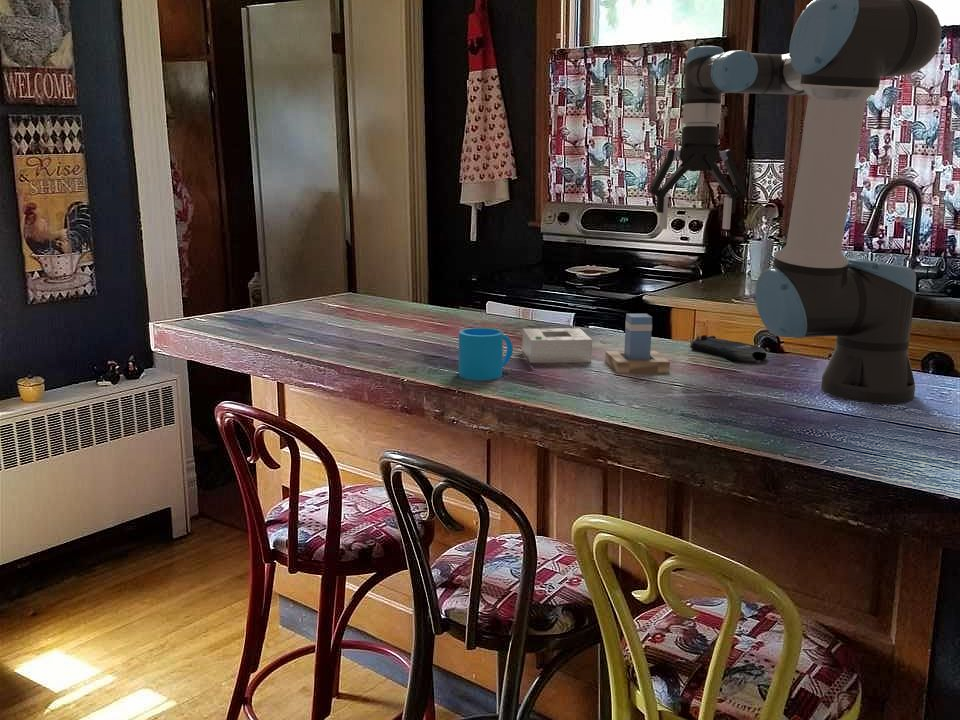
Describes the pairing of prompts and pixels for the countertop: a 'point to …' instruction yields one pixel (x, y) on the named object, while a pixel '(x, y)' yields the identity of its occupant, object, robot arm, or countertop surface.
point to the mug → (482, 353)
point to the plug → (637, 336)
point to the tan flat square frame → (637, 363)
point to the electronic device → (728, 349)
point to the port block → (556, 345)
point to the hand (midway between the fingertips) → (694, 229)
